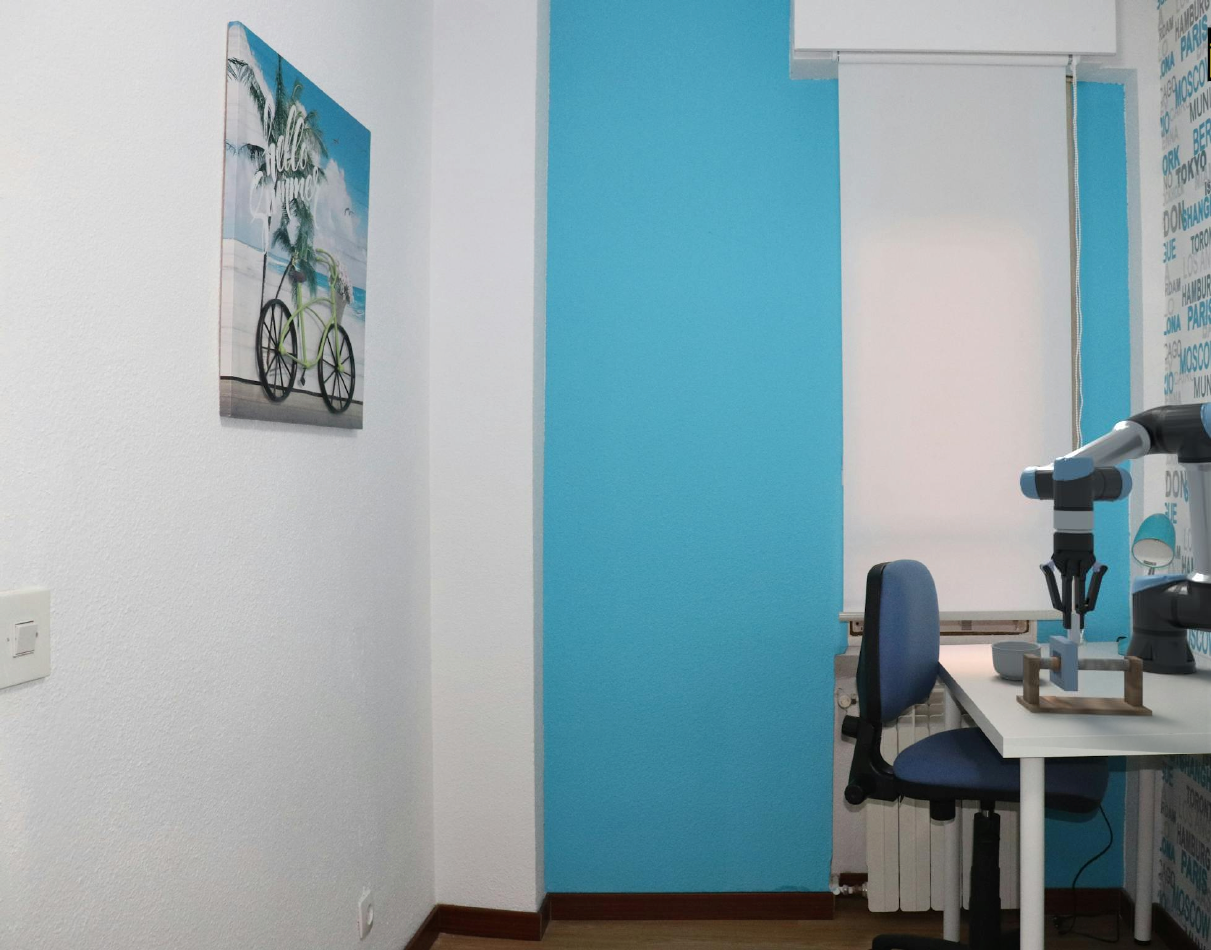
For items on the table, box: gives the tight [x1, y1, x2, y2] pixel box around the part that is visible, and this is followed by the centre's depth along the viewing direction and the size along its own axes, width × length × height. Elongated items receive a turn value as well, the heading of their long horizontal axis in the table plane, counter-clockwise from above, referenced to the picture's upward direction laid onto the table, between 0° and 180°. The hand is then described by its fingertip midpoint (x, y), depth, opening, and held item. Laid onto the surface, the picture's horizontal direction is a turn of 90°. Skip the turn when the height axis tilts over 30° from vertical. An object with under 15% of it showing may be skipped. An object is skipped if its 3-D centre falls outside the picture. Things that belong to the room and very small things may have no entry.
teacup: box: [990, 639, 1042, 681], centre depth 221 cm, size 14×11×8 cm
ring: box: [1048, 635, 1079, 692], centre depth 193 cm, size 2×9×10 cm, turn 172°
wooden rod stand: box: [1015, 654, 1153, 717], centre depth 192 cm, size 23×10×10 cm, turn 82°
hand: (1073, 644), depth 192 cm, fingers closed
